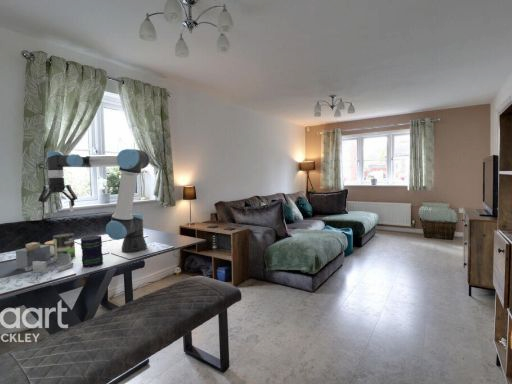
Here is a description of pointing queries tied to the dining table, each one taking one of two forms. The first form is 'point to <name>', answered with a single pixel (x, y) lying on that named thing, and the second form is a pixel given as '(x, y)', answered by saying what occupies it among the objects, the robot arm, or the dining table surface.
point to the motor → (39, 258)
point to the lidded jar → (50, 246)
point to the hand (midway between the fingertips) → (59, 212)
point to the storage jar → (91, 251)
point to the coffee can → (64, 245)
